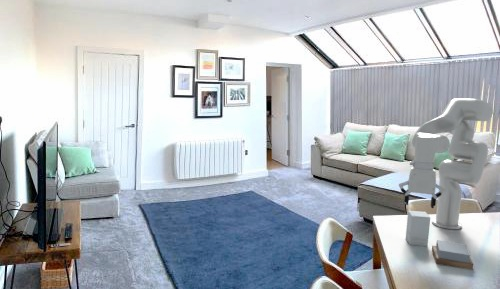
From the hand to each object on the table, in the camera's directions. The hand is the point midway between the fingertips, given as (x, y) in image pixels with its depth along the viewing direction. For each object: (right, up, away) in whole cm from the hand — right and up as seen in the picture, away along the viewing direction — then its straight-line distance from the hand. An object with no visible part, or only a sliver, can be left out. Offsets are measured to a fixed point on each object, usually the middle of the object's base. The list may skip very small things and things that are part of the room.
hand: (419, 205), depth 153 cm
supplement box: (0, -16, +3) cm, 16 cm away
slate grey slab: (+6, -16, -14) cm, 22 cm away
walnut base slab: (+6, -19, -13) cm, 24 cm away
